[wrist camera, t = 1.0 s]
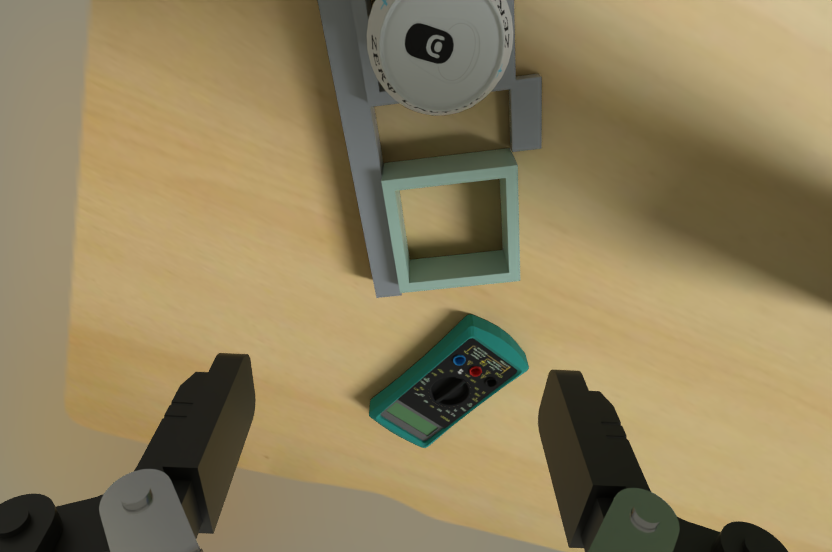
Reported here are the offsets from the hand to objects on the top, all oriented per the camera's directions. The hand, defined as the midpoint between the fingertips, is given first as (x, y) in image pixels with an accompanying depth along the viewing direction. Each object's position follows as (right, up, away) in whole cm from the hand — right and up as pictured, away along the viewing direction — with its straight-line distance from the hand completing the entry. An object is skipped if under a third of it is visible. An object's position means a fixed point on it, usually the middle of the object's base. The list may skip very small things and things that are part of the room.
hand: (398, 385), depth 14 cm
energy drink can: (+2, +20, +19) cm, 27 cm away
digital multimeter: (+3, -6, +36) cm, 36 cm away
